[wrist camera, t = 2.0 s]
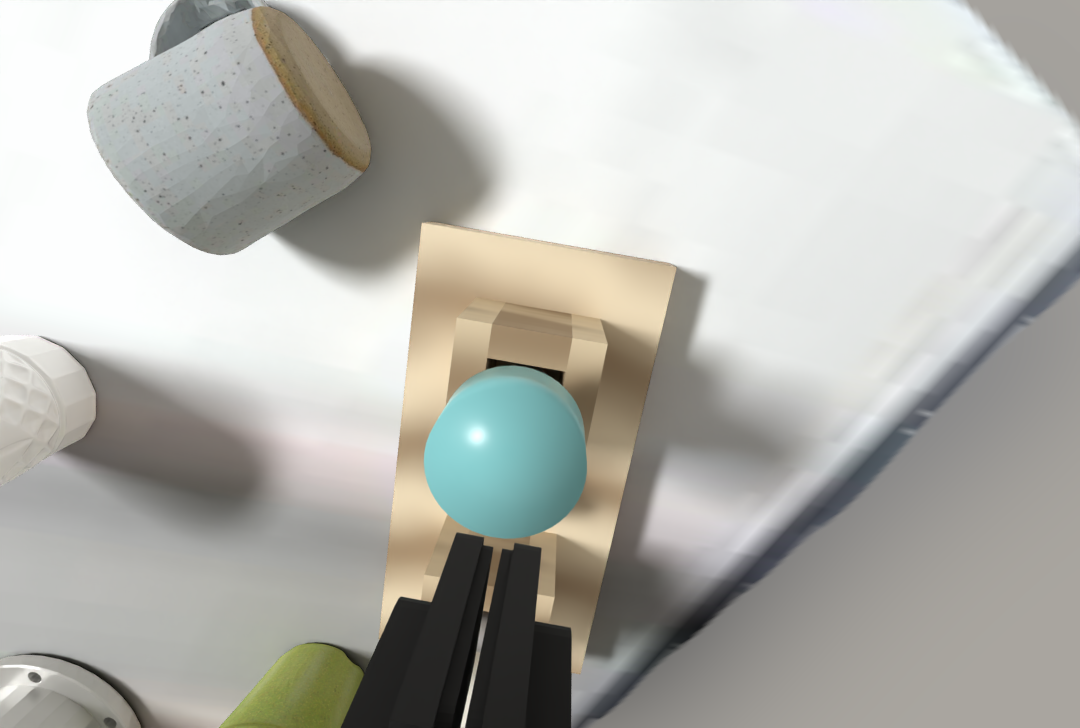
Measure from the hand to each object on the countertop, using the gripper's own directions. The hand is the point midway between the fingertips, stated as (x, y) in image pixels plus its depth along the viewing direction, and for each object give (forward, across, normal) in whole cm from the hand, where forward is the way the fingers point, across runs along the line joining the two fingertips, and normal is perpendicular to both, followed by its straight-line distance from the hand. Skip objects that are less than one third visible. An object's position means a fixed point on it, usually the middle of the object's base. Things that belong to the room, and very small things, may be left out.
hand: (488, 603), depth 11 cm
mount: (+19, +1, +7) cm, 20 cm away
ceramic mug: (+19, +15, -9) cm, 26 cm away
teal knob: (+14, +1, +1) cm, 14 cm away
